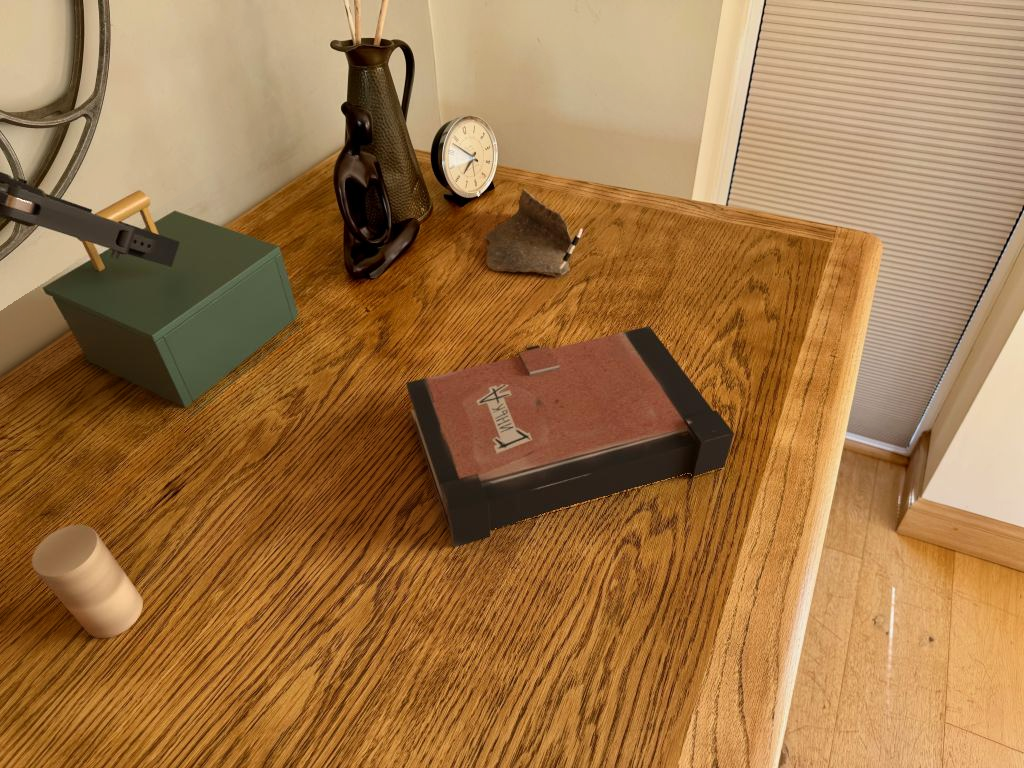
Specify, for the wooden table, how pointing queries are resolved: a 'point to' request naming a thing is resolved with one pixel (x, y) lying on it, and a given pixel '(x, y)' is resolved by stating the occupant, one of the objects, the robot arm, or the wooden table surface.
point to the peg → (88, 580)
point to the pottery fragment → (531, 240)
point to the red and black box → (561, 429)
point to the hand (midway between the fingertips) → (128, 236)
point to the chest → (193, 337)
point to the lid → (160, 272)
